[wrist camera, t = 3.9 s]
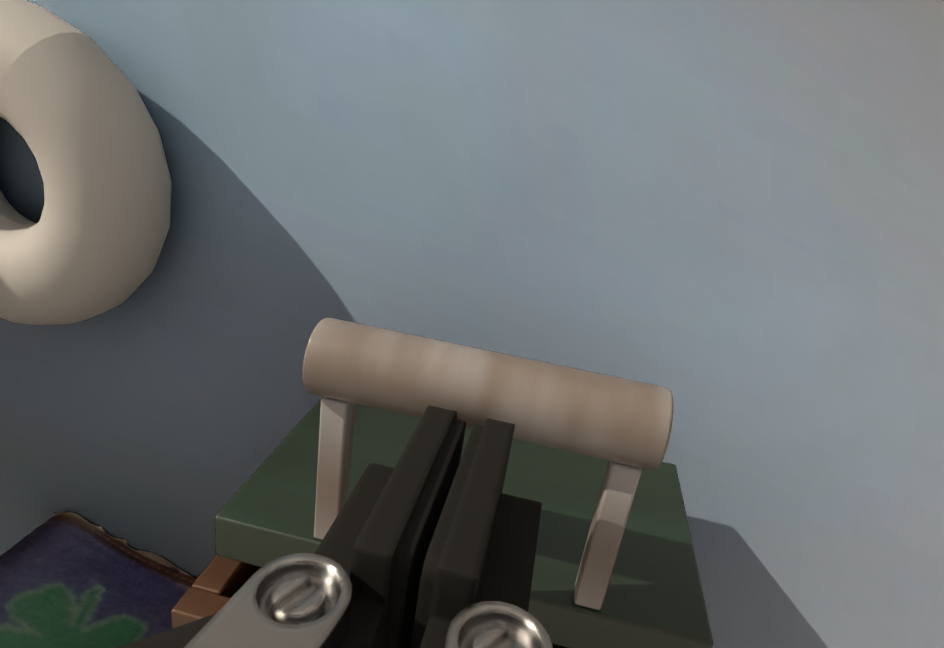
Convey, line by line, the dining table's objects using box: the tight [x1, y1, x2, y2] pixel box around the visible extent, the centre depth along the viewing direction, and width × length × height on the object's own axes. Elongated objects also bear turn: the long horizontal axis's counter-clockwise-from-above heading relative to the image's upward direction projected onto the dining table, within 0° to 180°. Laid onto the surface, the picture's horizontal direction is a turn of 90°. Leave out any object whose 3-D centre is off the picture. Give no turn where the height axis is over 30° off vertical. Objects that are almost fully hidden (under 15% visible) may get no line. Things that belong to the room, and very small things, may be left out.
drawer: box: [215, 317, 714, 648], centre depth 18 cm, size 19×11×7 cm, turn 172°
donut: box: [0, 0, 171, 325], centre depth 19 cm, size 10×4×10 cm
